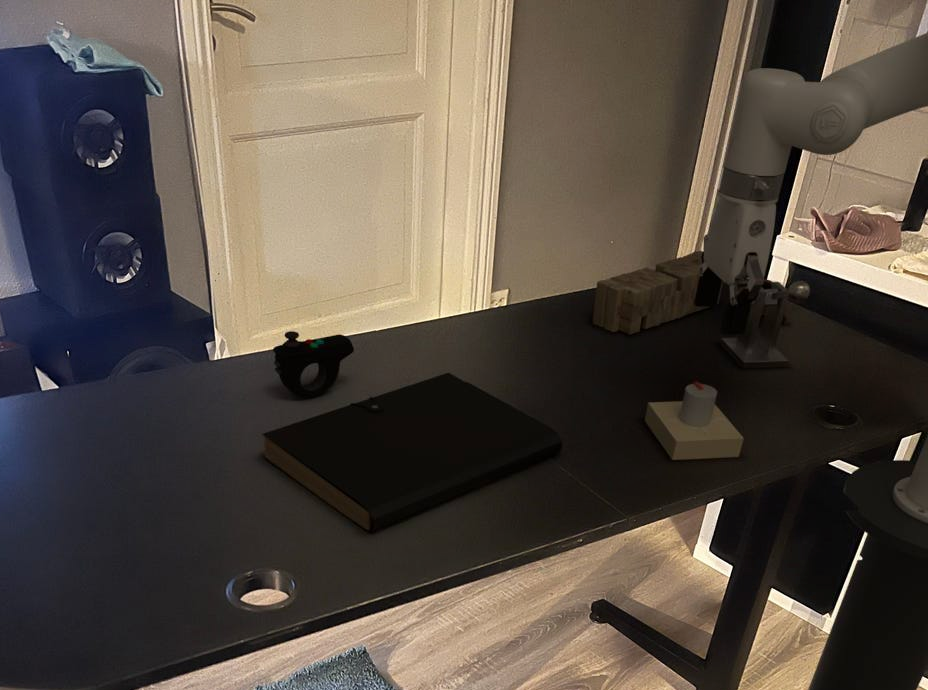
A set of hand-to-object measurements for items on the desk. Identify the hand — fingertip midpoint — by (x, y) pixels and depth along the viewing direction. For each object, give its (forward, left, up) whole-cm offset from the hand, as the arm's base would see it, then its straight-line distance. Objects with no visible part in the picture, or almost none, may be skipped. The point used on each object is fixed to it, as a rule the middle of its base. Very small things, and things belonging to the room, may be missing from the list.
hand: (717, 319), depth 131 cm
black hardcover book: (-3, +42, -17) cm, 45 cm away
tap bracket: (+27, -21, -17) cm, 38 cm away
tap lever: (+21, -21, -7) cm, 31 cm away
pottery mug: (+43, -29, -17) cm, 55 cm away
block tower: (+46, -12, -17) cm, 51 cm away
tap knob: (-1, +1, -14) cm, 14 cm away
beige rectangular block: (-1, +1, -17) cm, 17 cm away
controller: (+18, +54, -17) cm, 59 cm away
